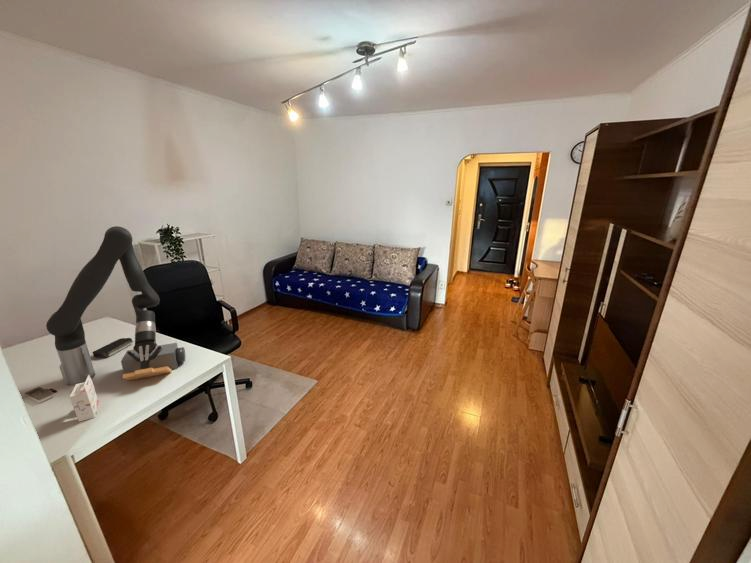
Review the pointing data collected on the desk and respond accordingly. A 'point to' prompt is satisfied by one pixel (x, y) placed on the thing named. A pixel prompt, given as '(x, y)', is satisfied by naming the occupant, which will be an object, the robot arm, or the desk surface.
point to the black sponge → (113, 347)
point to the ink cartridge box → (84, 400)
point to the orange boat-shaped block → (147, 373)
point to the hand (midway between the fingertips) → (145, 369)
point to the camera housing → (156, 359)
